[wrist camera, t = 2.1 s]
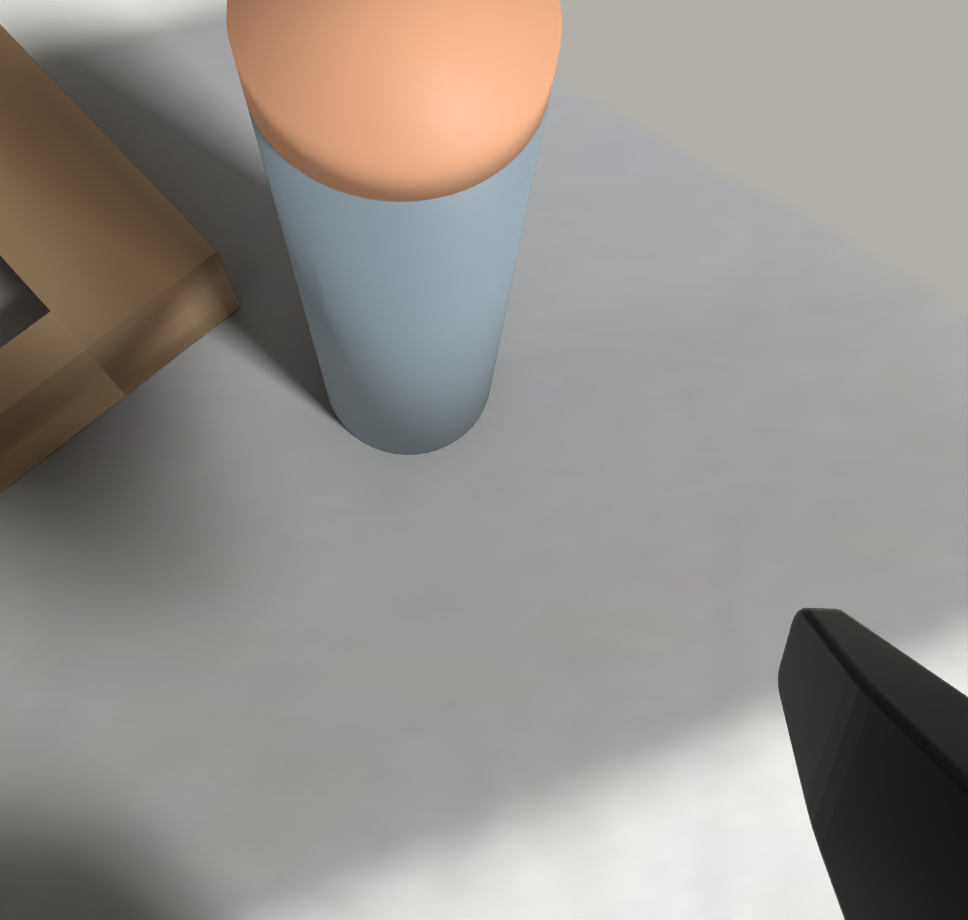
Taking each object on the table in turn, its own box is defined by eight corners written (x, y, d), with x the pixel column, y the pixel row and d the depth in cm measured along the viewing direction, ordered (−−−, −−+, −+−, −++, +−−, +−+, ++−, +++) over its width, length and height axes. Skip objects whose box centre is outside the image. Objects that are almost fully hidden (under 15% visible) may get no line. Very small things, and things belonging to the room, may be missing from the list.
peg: (402, 488, 24) (384, 222, 11) (291, 370, 24) (155, -4, 12) (524, 380, 25) (629, 29, 12) (413, 271, 25) (407, -168, 13)
